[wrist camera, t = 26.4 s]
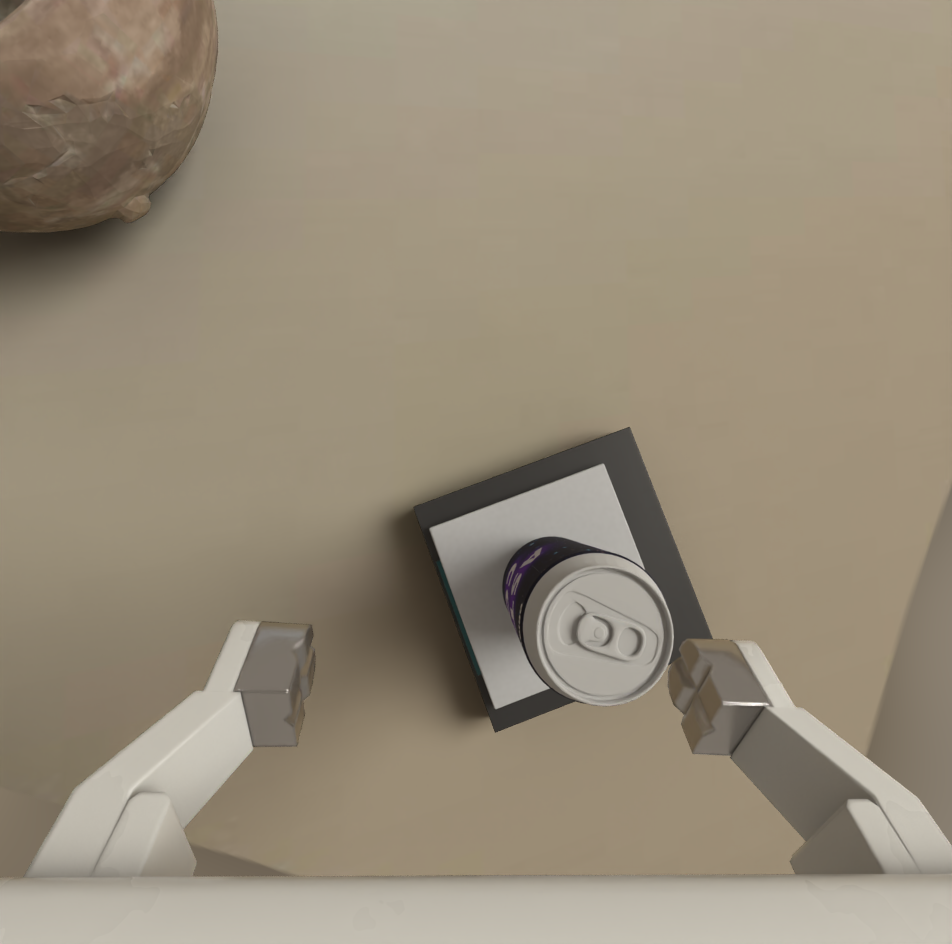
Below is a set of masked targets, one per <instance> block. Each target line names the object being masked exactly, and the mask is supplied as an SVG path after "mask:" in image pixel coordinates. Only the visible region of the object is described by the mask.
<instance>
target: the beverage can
mask: <svg viewBox="0 0 952 944" xmlns="http://www.w3.org/2000/svg"><path fill="white" fill-rule="evenodd" d="M502 592H503V598H504V602H505V605H506V608H507V610H508V613H509V615H510V618H511V620H512V623H513V625H514V628H515V630H516V633H517V635H518V638H519V640H520V643H521V645H522V648H523V650H524V653H525V655H526V658H527V660H528V662H529V664H530V666H531V667H532V669H533V670H534V672H535V673H536V675H537V676H538V677H539V678H540V679H541V680H542V682H543V683H545V684H546V685H547V686H548V687H549V688H550V689H552V690H553V691H554V692H556V693H558V694H559V695H561V696H563V697H565V698H567V699H570V700H573V701H576V702H580V703H585V704H590V705H595V706H616V705H620V704H625V703H628V702H630V701H633V700H635V699H637V698H639V697H640V696H642V695H643V694H645V693H646V692H647V691H649V690H650V689H651V688H652V687H653V686H654V685H655V684H656V683H657V682H658V680H659V679H660V678H661V676H662V675H663V673H664V671H665V670H666V668H667V665H668V663H669V660H670V657H671V653H672V649H673V639H674V634H673V624H672V620H671V615H670V612H669V610H668V606H667V603H666V600H665V597H664V595H663V593H662V591H661V589H660V588H659V586H658V585H657V583H656V582H655V580H654V579H653V578H652V577H651V576H650V574H649V573H648V572H647V571H645V570H644V569H643V568H642V567H641V566H639V565H638V564H637V563H635V562H634V561H632V560H630V559H628V558H626V557H624V556H621V555H619V554H616V553H612V552H609V551H606V550H603V549H599V548H596V547H593V546H590V545H586V544H583V543H580V542H577V541H573V540H570V539H567V538H563V537H556V536H548V537H542V538H538V539H535V540H532V541H530V542H528V543H527V544H525V545H524V546H522V547H521V548H520V549H519V550H518V551H517V552H516V553H515V554H514V555H513V556H512V558H511V559H510V561H509V563H508V564H507V567H506V569H505V572H504V576H503V583H502Z"/></svg>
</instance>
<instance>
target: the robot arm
mask: <svg viewBox="0 0 952 944" xmlns="http://www.w3.org/2000/svg"><path fill="white" fill-rule="evenodd" d="M312 639H313V628H312V625H310V624H296V623H281V622H266V621H245V620H237V621H236V622H235V623H234V624H233V625H232V626H231V628H230V630H229V633H228V635H227V637H226V639H225V642H224V644H223V646H222V648H221V651H220V653H219V655H218V657H217V660H216V662H215V664H214V667H213V669H212V671H211V673H210V676H209V678H208V680H207V682H206V685H205V687H204V689H203V691H194V692H193V693H192V694H190V695H189V696H188V697H187V698H185V699H184V700H183V701H182V702H180V703H179V704H178V705H177V706H175V707H174V708H173V709H172V710H171V711H169V712H168V713H167V714H166V715H164V716H163V717H162V718H161V719H159V720H158V721H157V722H156V723H154V724H153V725H152V726H151V727H149V728H148V729H147V730H146V731H145V732H143V733H142V734H141V735H140V736H138V737H137V738H136V739H135V740H133V741H132V742H131V743H130V744H128V745H127V746H126V747H125V748H123V749H122V750H121V751H120V752H119V753H117V754H116V755H115V756H114V757H112V758H111V759H110V760H109V761H107V762H106V763H105V764H104V765H102V766H101V767H100V768H99V769H97V770H96V771H95V772H94V773H92V774H91V775H90V776H89V777H88V778H86V779H85V780H84V781H83V782H81V783H80V784H79V785H78V786H76V787H75V788H74V789H73V791H72V793H71V795H70V796H69V798H68V800H67V802H66V803H65V805H64V807H63V809H62V810H61V812H60V814H59V816H58V817H57V819H56V821H55V823H54V824H53V826H52V828H51V829H50V831H49V833H48V835H47V836H46V838H45V840H44V842H43V843H42V845H41V847H40V849H39V850H38V852H37V854H36V856H35V857H34V859H33V861H32V862H31V864H30V866H29V868H28V869H27V871H26V873H25V875H24V876H23V877H0V944H952V846H951V845H950V843H949V842H948V840H947V839H946V837H945V836H944V834H943V833H942V831H941V830H940V829H939V827H938V826H937V824H936V823H935V822H934V820H933V819H932V817H931V816H930V814H929V813H928V811H927V810H926V808H925V807H924V806H923V804H922V803H921V801H920V800H919V798H917V797H916V796H915V795H914V794H912V793H911V792H910V791H908V790H907V789H906V788H904V787H903V786H902V785H901V784H899V783H898V782H897V781H896V780H894V779H893V778H892V777H890V776H889V775H888V774H887V773H885V772H884V771H883V770H881V769H880V768H879V767H878V766H876V765H875V764H874V763H872V762H871V761H870V760H869V759H867V758H866V757H865V756H864V755H862V754H861V753H860V752H858V751H857V750H856V749H855V748H853V747H852V746H851V745H849V744H848V743H847V742H846V741H844V740H843V739H842V738H840V737H839V736H838V735H837V734H835V733H834V732H833V731H832V730H830V729H829V728H828V727H826V726H825V725H824V724H823V723H821V722H820V721H819V720H817V719H816V718H815V717H814V716H812V715H811V714H810V713H808V712H807V711H806V710H805V709H803V708H802V707H795V705H794V704H793V702H792V700H791V699H790V697H789V695H788V694H787V692H786V690H785V689H784V687H783V685H782V684H781V682H780V680H779V679H778V677H777V676H776V674H775V672H774V671H773V669H772V667H771V666H770V664H769V662H768V661H767V659H766V657H765V656H764V654H763V652H762V651H761V649H760V647H759V646H758V645H757V644H756V643H755V642H754V641H742V640H727V639H689V638H687V639H686V640H684V641H683V642H682V644H681V645H680V647H679V651H680V653H681V657H679V658H678V659H676V660H675V661H673V662H672V664H671V666H670V669H669V671H668V688H669V694H670V696H671V699H672V702H673V705H674V706H675V707H676V708H678V709H679V710H680V711H681V712H682V713H683V714H684V716H683V719H682V722H681V725H682V728H683V730H684V733H685V736H686V738H687V741H688V743H689V746H690V748H691V751H692V753H693V754H708V755H729V756H731V757H730V758H731V759H732V760H733V761H734V762H735V764H736V765H737V766H738V767H739V768H740V769H741V770H742V771H743V772H744V773H745V775H746V776H747V777H748V778H749V779H750V780H751V781H752V782H753V783H754V785H755V786H756V787H757V788H758V789H759V790H760V791H761V792H762V793H763V794H764V796H765V797H766V798H767V799H768V800H769V801H770V802H771V803H772V804H773V805H774V807H775V808H776V809H777V810H778V811H779V812H780V813H781V814H782V815H783V816H784V818H785V819H786V820H787V821H788V822H789V823H790V824H791V825H792V826H793V827H794V829H795V830H796V831H797V832H798V833H799V834H800V835H801V836H802V837H803V838H804V840H805V841H806V842H805V843H804V844H803V845H802V846H801V847H800V848H799V849H798V850H797V851H796V852H795V853H794V854H793V855H792V858H791V860H790V863H791V865H792V867H793V870H794V872H795V874H727V875H434V876H198V877H197V876H195V877H193V873H194V871H195V867H196V865H197V862H196V859H195V857H194V854H193V852H192V850H191V847H190V845H189V842H188V840H187V838H186V835H185V833H184V831H183V829H184V828H185V827H186V826H187V825H188V823H189V822H190V821H191V820H192V819H193V818H194V817H195V816H196V814H197V813H198V812H199V811H200V810H201V809H202V808H203V806H204V805H205V804H206V803H207V802H208V801H209V800H210V798H211V797H212V796H213V795H214V794H215V793H216V792H217V790H218V789H219V788H220V787H221V786H222V785H223V784H224V782H225V781H226V780H227V779H228V778H229V777H230V776H231V775H232V773H233V772H234V771H235V770H236V769H237V768H238V767H239V765H240V764H241V763H242V762H243V761H244V760H245V759H246V757H247V756H248V755H249V754H250V753H251V752H252V751H253V747H292V746H297V745H298V741H299V737H300V733H301V729H302V725H303V721H304V717H305V710H304V700H305V699H306V698H307V697H308V696H309V695H310V693H311V689H312V684H313V679H314V672H315V649H314V648H313V647H312V646H311V643H312Z"/></svg>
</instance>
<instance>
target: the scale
mask: <svg viewBox="0 0 952 944" xmlns="http://www.w3.org/2000/svg"><path fill="white" fill-rule="evenodd" d="M413 508H414V511H415V514H416V516H417V519H418V522H419V525H420V527H421V530H422V533H423V536H424V538H425V541H426V544H427V547H428V549H429V552H430V555H431V558H432V560H433V563H434V566H435V569H436V571H437V574H438V577H439V580H440V582H441V585H442V588H443V591H444V593H445V596H446V599H447V602H448V604H449V607H450V610H451V613H452V615H453V618H454V621H455V624H456V626H457V629H458V632H459V635H460V637H461V640H462V643H463V646H464V648H465V651H466V654H467V657H468V659H469V662H470V665H471V668H472V670H473V673H474V676H475V679H476V681H477V684H478V687H479V690H480V692H481V695H482V698H483V701H484V703H485V706H486V709H487V712H488V714H489V717H490V720H491V723H492V725H493V728H494V731H495V732H498V731H501V730H503V729H506V728H508V727H511V726H513V725H516V724H518V723H521V722H524V721H526V720H529V719H531V718H534V717H536V716H539V715H541V714H544V713H547V712H549V711H552V710H554V709H557V708H559V707H562V706H564V705H567V704H570V703H572V702H575V701H573V700H570V699H567V698H565V697H563V696H561V695H559V694H558V693H556V692H554V691H553V690H552V689H550V688H549V687H548V686H547V685H546V684H545V683H543V682H542V680H541V679H540V678H539V677H538V676H537V675H536V673H535V672H534V670H533V669H532V667H531V666H530V664H529V662H528V660H527V658H526V655H525V653H524V650H523V648H522V645H521V643H520V640H519V638H518V635H517V633H516V630H515V628H514V625H513V623H512V620H511V618H510V615H509V613H508V610H507V608H506V605H505V602H504V598H503V592H502V583H503V576H504V572H505V569H506V567H507V564H508V563H509V561H510V559H511V558H512V556H513V555H514V554H515V553H516V552H517V551H518V550H519V549H520V548H521V547H522V546H524V545H525V544H527V543H528V542H530V541H532V540H535V539H538V538H542V537H548V536H556V537H563V538H567V539H570V540H573V541H577V542H580V543H583V544H586V545H590V546H593V547H596V548H599V549H603V550H606V551H609V552H612V553H616V554H619V555H621V556H624V557H626V558H628V559H630V560H632V561H634V562H635V563H637V564H638V565H639V566H641V567H642V568H643V569H644V570H645V571H647V572H648V573H649V574H650V576H651V577H652V578H653V579H654V580H655V582H656V583H657V585H658V586H659V588H660V589H661V591H662V593H663V595H664V597H665V600H666V603H667V606H668V610H669V612H670V615H671V620H672V624H673V634H674V639H673V649H672V653H671V657H670V660H669V663H668V665H669V664H672V662H673V661H675V660H676V659H678V658H679V657H681V653H680V651H679V647H680V645H681V644H682V642H683V641H684V640H686V639H687V638H689V639H713V638H712V635H711V633H710V630H709V628H708V625H707V623H706V620H705V618H704V615H703V612H702V610H701V607H700V605H699V602H698V600H697V597H696V595H695V592H694V590H693V587H692V584H691V582H690V579H689V577H688V574H687V572H686V569H685V567H684V564H683V562H682V559H681V556H680V554H679V551H678V549H677V546H676V544H675V541H674V539H673V536H672V534H671V531H670V528H669V526H668V523H667V521H666V518H665V516H664V513H663V511H662V508H661V506H660V503H659V500H658V498H657V495H656V493H655V490H654V488H653V485H652V483H651V480H650V477H649V475H648V472H647V470H646V467H645V465H644V462H643V460H642V457H641V455H640V452H639V449H638V447H637V444H636V442H635V439H634V437H633V434H632V432H631V429H630V427H628V428H625V429H622V430H620V431H617V432H614V433H612V434H609V435H606V436H604V437H601V438H598V439H595V440H593V441H590V442H587V443H585V444H582V445H579V446H577V447H574V448H571V449H568V450H566V451H563V452H560V453H558V454H555V455H552V456H550V457H547V458H544V459H541V460H539V461H536V462H533V463H531V464H528V465H525V466H523V467H520V468H517V469H515V470H512V471H509V472H506V473H504V474H501V475H498V476H496V477H493V478H490V479H488V480H485V481H482V482H479V483H477V484H474V485H471V486H469V487H466V488H463V489H461V490H458V491H455V492H452V493H450V494H447V495H444V496H442V497H439V498H436V499H434V500H431V501H428V502H425V503H423V504H420V505H417V506H415V507H413Z"/></svg>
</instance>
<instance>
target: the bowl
mask: <svg viewBox="0 0 952 944" xmlns="http://www.w3.org/2000/svg"><path fill="white" fill-rule="evenodd" d="M217 55H218V27H217V18H216V10H215V6H214V1H213V0H0V231H6V232H21V233H23V232H56V231H65V230H72V229H78V228H84V227H87V226H91V225H95V224H98V223H100V222H102V221H104V220H106V219H109V218H120V219H121V220H123V221H124V222H125V223H132V222H133V221H135V220H137V219H139V218H141V217H142V216H144V215H146V213H147V212H148V211H149V209H150V206H151V202H150V200H149V199H148V198H149V195H150V194H151V193H152V192H154V191H155V190H156V189H157V188H158V187H160V186H161V185H162V184H163V183H164V181H165V180H166V179H167V178H169V177H170V176H171V175H172V174H173V173H174V172H175V171H176V170H177V168H178V167H179V166H180V165H181V163H182V162H183V161H184V159H185V158H186V156H187V155H188V153H189V151H190V150H191V148H192V146H193V145H194V143H195V141H196V139H197V137H198V134H199V132H200V130H201V128H202V125H203V123H204V120H205V117H206V113H207V110H208V106H209V103H210V98H211V90H212V86H213V81H214V77H215V72H216V63H217Z"/></svg>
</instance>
